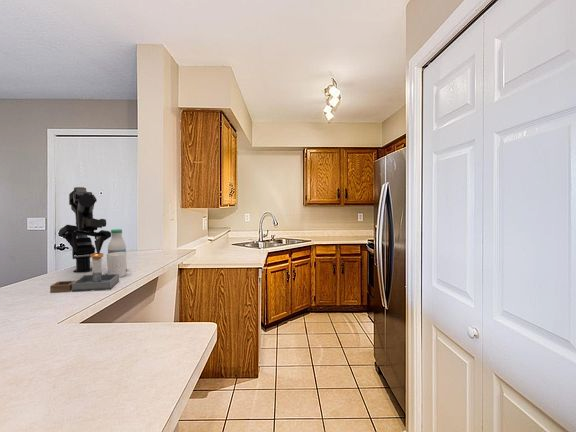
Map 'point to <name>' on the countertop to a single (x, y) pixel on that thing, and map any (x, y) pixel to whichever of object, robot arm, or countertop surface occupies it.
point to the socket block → (61, 286)
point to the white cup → (116, 263)
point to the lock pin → (96, 266)
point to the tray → (95, 283)
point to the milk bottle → (116, 242)
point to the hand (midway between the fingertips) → (87, 252)
